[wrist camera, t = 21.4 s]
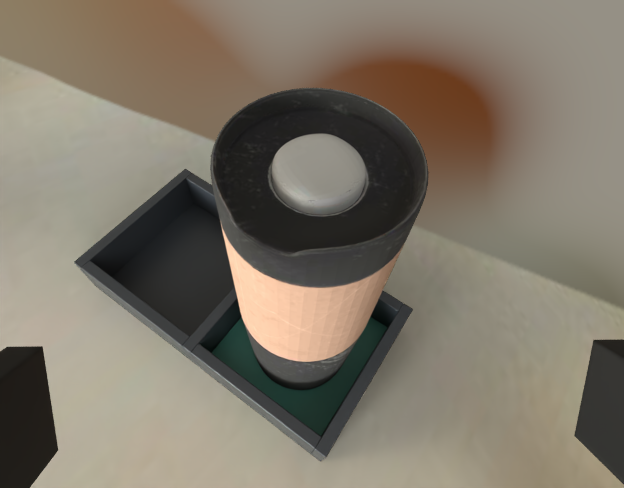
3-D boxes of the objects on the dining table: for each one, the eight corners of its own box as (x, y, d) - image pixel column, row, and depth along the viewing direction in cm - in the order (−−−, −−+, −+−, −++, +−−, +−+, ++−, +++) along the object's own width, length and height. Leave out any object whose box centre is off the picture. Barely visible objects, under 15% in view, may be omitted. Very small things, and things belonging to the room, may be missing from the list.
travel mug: (332, 287, 33) (384, 73, 16) (364, 378, 29) (474, 224, 12) (241, 309, 31) (191, 99, 15) (262, 408, 28) (227, 280, 11)
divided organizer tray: (95, 286, 33) (73, 262, 29) (194, 197, 38) (185, 168, 35) (320, 461, 27) (325, 457, 23) (399, 328, 32) (413, 308, 29)
